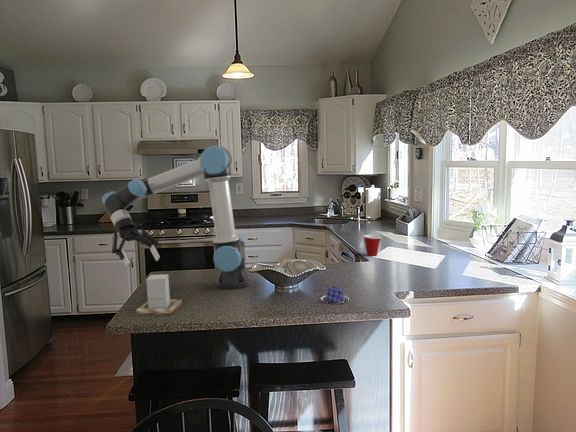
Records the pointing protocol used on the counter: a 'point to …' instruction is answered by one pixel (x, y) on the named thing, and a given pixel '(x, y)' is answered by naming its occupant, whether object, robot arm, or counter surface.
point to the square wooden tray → (169, 311)
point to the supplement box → (158, 291)
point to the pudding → (334, 295)
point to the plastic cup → (372, 244)
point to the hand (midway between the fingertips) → (143, 262)
